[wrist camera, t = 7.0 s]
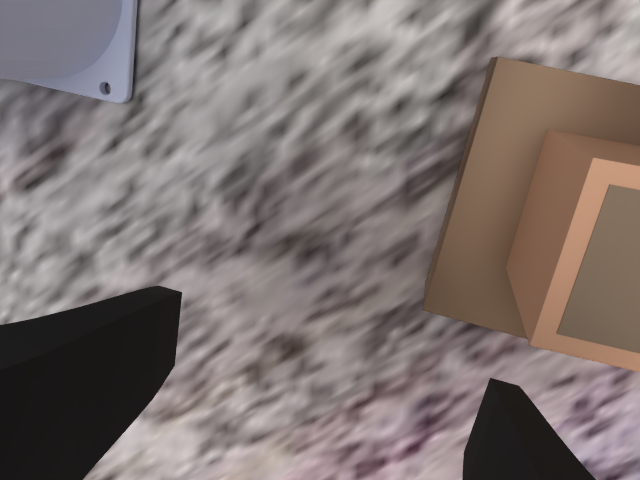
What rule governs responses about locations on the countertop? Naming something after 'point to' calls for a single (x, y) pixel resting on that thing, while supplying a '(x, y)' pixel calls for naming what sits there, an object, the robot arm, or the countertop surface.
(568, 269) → the terracotta pot
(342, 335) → the countertop surface
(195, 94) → the countertop surface
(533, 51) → the countertop surface
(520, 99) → the walnut block
